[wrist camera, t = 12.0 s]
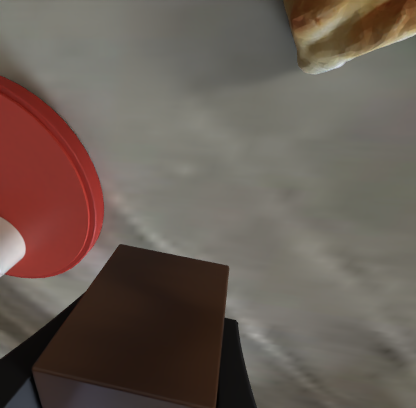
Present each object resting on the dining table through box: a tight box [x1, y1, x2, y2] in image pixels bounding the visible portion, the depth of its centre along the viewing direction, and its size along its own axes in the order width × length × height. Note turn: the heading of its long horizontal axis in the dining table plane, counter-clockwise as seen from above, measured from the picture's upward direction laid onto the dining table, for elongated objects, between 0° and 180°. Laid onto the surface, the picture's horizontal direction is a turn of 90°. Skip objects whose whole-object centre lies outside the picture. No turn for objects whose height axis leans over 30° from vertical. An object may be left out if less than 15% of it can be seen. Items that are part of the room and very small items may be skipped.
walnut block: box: [31, 244, 229, 408], centre depth 9 cm, size 4×4×5 cm
